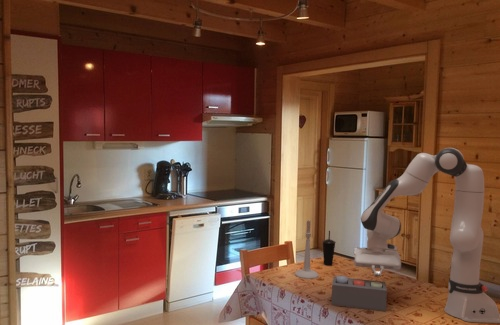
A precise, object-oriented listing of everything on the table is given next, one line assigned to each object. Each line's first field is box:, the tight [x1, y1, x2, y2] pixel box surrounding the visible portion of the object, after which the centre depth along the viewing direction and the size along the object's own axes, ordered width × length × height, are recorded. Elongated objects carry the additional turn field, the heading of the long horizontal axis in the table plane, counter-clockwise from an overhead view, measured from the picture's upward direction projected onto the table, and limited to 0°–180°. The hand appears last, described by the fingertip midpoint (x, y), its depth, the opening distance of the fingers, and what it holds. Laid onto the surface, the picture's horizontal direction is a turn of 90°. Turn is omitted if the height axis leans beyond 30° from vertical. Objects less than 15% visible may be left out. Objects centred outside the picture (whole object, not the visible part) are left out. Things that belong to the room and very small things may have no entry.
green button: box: [371, 282, 382, 288], centre depth 190 cm, size 5×5×4 cm
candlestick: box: [294, 219, 319, 280], centre depth 230 cm, size 13×13×30 cm
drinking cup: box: [321, 230, 336, 267], centre depth 251 cm, size 8×8×20 cm
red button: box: [353, 279, 365, 286], centre depth 192 cm, size 5×5×4 cm
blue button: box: [336, 275, 348, 284], centre depth 194 cm, size 5×5×4 cm
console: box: [330, 276, 388, 312], centre depth 192 cm, size 23×12×9 cm, turn 76°
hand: (377, 275), depth 190 cm, fingers closed
